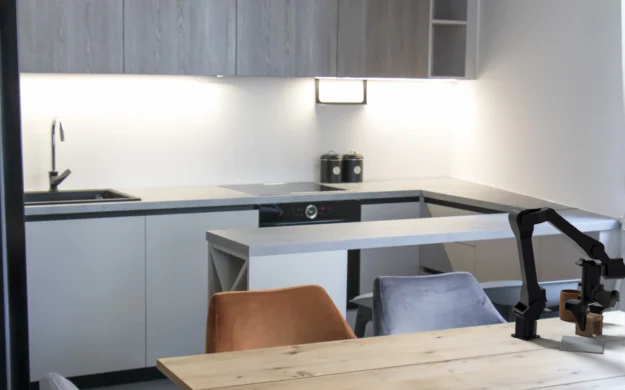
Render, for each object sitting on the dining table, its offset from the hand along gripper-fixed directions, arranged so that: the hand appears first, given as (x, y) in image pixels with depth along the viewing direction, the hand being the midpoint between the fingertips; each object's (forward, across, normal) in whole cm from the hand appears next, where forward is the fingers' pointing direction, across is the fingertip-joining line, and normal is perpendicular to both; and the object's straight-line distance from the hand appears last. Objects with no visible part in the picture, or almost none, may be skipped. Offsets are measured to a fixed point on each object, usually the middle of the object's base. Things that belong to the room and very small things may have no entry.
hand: (588, 329), depth 286 cm
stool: (+2, 0, 0) cm, 2 cm away
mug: (+2, +14, +14) cm, 20 cm away
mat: (+2, -12, -6) cm, 14 cm away
